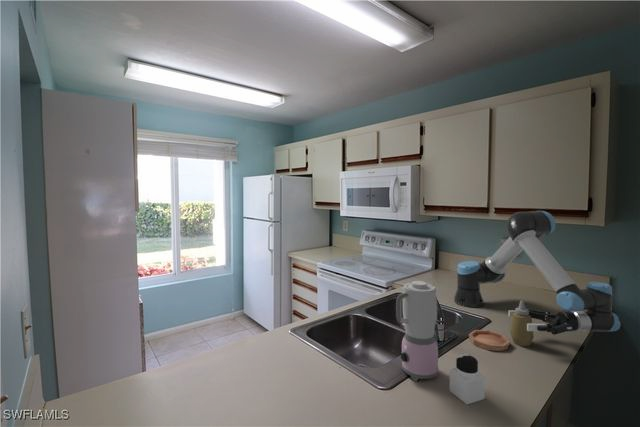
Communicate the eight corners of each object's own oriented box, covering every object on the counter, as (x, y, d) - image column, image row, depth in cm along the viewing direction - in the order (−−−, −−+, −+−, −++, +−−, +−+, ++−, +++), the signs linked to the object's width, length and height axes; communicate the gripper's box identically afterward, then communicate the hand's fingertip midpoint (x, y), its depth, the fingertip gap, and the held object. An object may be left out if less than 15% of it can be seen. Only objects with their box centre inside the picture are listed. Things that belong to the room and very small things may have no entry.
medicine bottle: (485, 399, 91) (485, 361, 90) (467, 405, 89) (467, 366, 88) (466, 385, 98) (466, 349, 97) (449, 390, 95) (449, 354, 95)
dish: (465, 334, 133) (465, 329, 133) (498, 335, 132) (498, 330, 132) (478, 350, 119) (478, 345, 119) (515, 351, 118) (515, 346, 118)
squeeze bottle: (537, 348, 120) (538, 304, 119) (515, 347, 121) (515, 303, 120) (527, 339, 128) (528, 298, 127) (506, 338, 129) (507, 297, 128)
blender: (422, 359, 114) (422, 276, 112) (446, 377, 102) (446, 285, 101) (387, 368, 108) (386, 281, 107) (408, 388, 97) (407, 291, 95)
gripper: (598, 345, 110) (536, 343, 112) (551, 317, 134) (502, 317, 136) (598, 325, 109) (536, 324, 111) (552, 301, 134) (502, 300, 136)
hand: (517, 320), depth 124 cm, fingers open, 13 cm apart
